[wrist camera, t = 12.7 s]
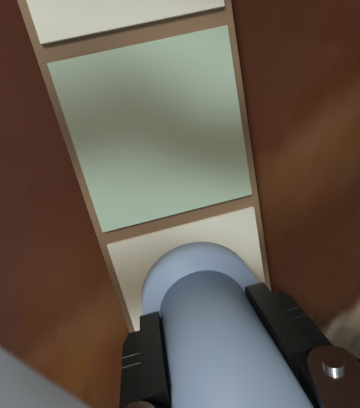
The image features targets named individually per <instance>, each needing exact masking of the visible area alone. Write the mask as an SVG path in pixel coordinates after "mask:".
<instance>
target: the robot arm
mask: <svg viewBox="0 0 360 408" xmlns="http://www.w3.org/2000/svg"><path fill="white" fill-rule="evenodd" d="M245 294H246V297H247V298H248V300H249V301H250V303H251V305H252V306H253V308H254V310H255V311H256V313H257V315H258V316H259V318H260V320H261V321H262V323H263V324H264V326H265V328H266V329H267V331H268V333H269V334H270V336H271V338H272V339H273V341H274V343H275V344H276V346H277V347H278V349H279V351H280V352H281V354H282V356H283V357H284V359H285V361H286V362H287V364H288V366H289V367H290V369H291V370H292V372H293V374H294V375H295V377H296V379H297V380H298V382H299V384H300V385H301V387H302V389H303V390H304V392H305V393H306V395H307V397H308V398H309V400H310V402H311V403H312V405H313V407H314V408H360V359H358V358H355V357H354V356H353V355H352V354H351V353H350V352H348V351H346V350H344V349H342V348H340V347H336V346H333V345H332V344H331V343H330V341H329V340H328V339H327V338H326V337H325V336H324V334H323V333H322V332H321V331H320V330H319V329H318V327H317V326H316V325H315V324H314V323H313V322H312V320H311V319H310V318H309V317H308V316H306V313H305V312H304V311H303V310H302V309H301V308H300V307H299V305H298V304H297V303H296V302H295V300H294V299H293V298H292V297H291V296H289V295H287V294H285V293H283V292H281V291H277V292H274V293H272V292H271V291H270V290H269V288H268V287H267V286H266V284H265V283H264V282H260V283H257V284H253V285H249V286H246V287H245ZM122 357H123V359H122V372H121V389H120V407H119V408H171V401H170V392H169V384H168V376H167V367H166V359H165V351H164V343H163V334H162V326H161V318H160V315H159V312H158V311H156V312H152V313H149V314H145V315H142V316H140V330H139V331H135V332H132V333H129V334H128V336H127V338H126V340H125V342H124V344H123V354H122Z"/></svg>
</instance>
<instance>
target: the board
mask: <svg viewBox="0 0 360 408" xmlns="http://www.w3.org/2000/svg"><path fill="white" fill-rule="evenodd" d="M17 1H18V4H19V7H20V10H21V13H22V16H23V19H24V22H25V25H26V28H27V31H28V34H29V37H30V40H31V43H32V45H33V48H34V51H35V54H36V57H37V60H38V63H39V66H40V69H41V72H42V75H43V78H44V81H45V84H46V87H47V90H48V93H49V96H50V99H51V102H52V105H53V108H54V111H55V114H56V117H57V120H58V123H59V126H60V129H61V132H62V134H63V137H64V140H65V143H66V146H67V149H68V152H69V155H70V158H71V161H72V164H73V167H74V170H75V173H76V176H77V179H78V182H79V185H80V188H81V191H82V194H83V197H84V200H85V203H86V206H87V209H88V212H89V215H90V218H91V221H92V223H93V226H94V229H95V232H96V235H97V238H98V241H99V244H100V247H101V250H102V253H103V256H104V259H105V262H106V265H107V268H108V271H109V274H110V277H111V280H112V283H113V286H114V289H115V292H116V295H117V298H118V301H119V304H120V307H121V310H122V313H123V315H124V318H125V321H126V324H127V327H128V330H129V333H132V332H135V331H139V330H140V316H142V288H143V284H144V281H145V278H146V276H147V274H148V272H149V270H150V269H151V267H152V266H153V265H154V263H155V262H156V261H157V260H158V259H159V258H160V257H162V256H163V255H164V254H165V253H167V252H169V251H170V250H172V249H174V248H176V247H178V246H181V245H184V244H188V243H193V242H211V243H216V244H220V245H223V246H225V247H227V248H229V249H230V250H232V251H234V252H235V253H236V254H237V255H238V256H239V257H240V258H241V259H242V260H243V262H244V263H245V264H246V266H247V267H248V268H249V270H250V271H251V273H252V274H253V275H254V277H255V279H256V280H257V283H260V282H264V283H265V284H266V286H267V287H268V288H269V290H270V291H271V285H270V278H269V271H268V264H267V256H266V249H265V242H264V235H263V228H262V220H261V213H260V206H259V199H258V192H257V184H256V177H255V170H254V163H253V156H252V148H251V141H250V134H249V127H248V120H247V112H246V105H245V98H244V91H243V84H242V76H241V69H240V62H239V55H238V48H237V40H236V33H235V26H234V19H233V12H232V4H231V0H17Z"/></svg>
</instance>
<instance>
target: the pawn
mask: <svg viewBox="0 0 360 408" xmlns="http://www.w3.org/2000/svg"><path fill="white" fill-rule="evenodd" d="M253 284H257V280H256V279H255V277H254V275H253V274H252V273H251V271H250V270H249V268H248V267H247V266H246V264H245V263H244V262H243V260H242V259H241V258H240V257H239V256H238V255H237V254H236V253H235V252H234V251H232V250H230V249H229V248H227V247H225V246H223V245H220V244H216V243H211V242H193V243H188V244H184V245H181V246H178V247H176V248H174V249H172V250H170V251H169V252H167V253H165V254H164V255H163V256H162V257H160V258H159V259H158V260H157V261H156V262H155V263H154V265H153V266H152V267H151V269H150V270H149V272H148V274H147V276H146V278H145V281H144V284H143V288H142V315H145V314H149V313H152V312H156V311H158V312H159V315H160V318H161V326H162V334H163V343H164V351H165V359H166V367H167V376H168V384H169V392H170V401H171V408H314V407H313V405H312V403H311V402H310V400H309V398H308V397H307V395H306V393H305V392H304V390H303V389H302V387H301V385H300V384H299V382H298V380H297V379H296V377H295V375H294V374H293V372H292V370H291V369H290V367H289V366H288V364H287V362H286V361H285V359H284V357H283V356H282V354H281V352H280V351H279V349H278V347H277V346H276V344H275V343H274V341H273V339H272V338H271V336H270V334H269V333H268V331H267V329H266V328H265V326H264V324H263V323H262V321H261V320H260V318H259V316H258V315H257V313H256V311H255V310H254V308H253V306H252V305H251V303H250V301H249V300H248V298H247V297H246V294H245V287H246V286H249V285H253Z"/></svg>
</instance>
